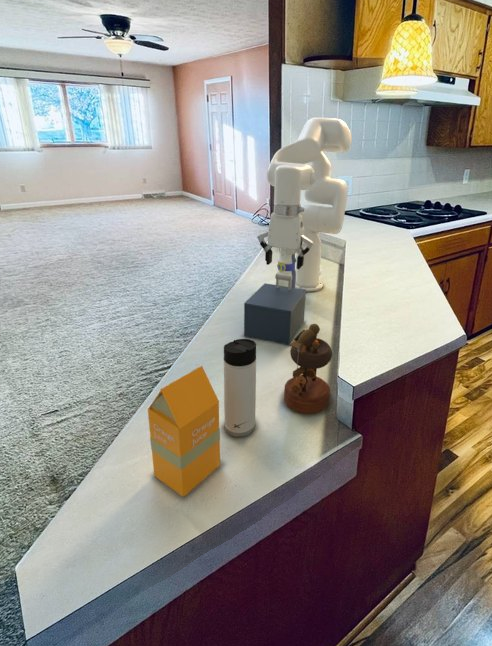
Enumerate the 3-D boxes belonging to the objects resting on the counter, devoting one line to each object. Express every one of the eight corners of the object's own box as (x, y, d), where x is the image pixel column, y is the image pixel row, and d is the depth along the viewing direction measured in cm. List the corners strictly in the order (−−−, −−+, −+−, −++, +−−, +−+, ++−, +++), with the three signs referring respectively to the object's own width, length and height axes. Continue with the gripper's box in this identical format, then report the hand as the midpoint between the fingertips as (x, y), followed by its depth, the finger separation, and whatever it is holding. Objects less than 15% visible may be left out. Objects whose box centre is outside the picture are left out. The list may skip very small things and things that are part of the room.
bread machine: (263, 314, 135) (263, 286, 131) (303, 321, 132) (305, 293, 128) (244, 336, 121) (244, 305, 117) (289, 345, 118) (290, 313, 114)
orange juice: (153, 475, 72) (143, 380, 65) (191, 446, 79) (187, 357, 72) (183, 498, 69) (177, 399, 61) (221, 465, 75) (219, 373, 68)
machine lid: (264, 285, 132) (265, 269, 130) (306, 292, 129) (307, 275, 127) (244, 305, 117) (244, 287, 115) (290, 313, 114) (291, 295, 112)
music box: (320, 424, 87) (320, 341, 80) (273, 414, 91) (269, 333, 84) (340, 385, 101) (341, 311, 94) (298, 377, 104) (296, 305, 97)
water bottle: (289, 300, 147) (292, 232, 137) (269, 294, 151) (271, 228, 141) (301, 293, 153) (305, 228, 144) (282, 288, 157) (285, 224, 148)
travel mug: (240, 443, 81) (241, 355, 73) (218, 427, 85) (216, 343, 77) (262, 426, 86) (264, 343, 78) (240, 412, 89) (240, 331, 82)
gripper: (318, 210, 120) (314, 266, 127) (263, 204, 124) (261, 258, 130) (312, 215, 114) (308, 273, 120) (254, 208, 117) (252, 265, 124)
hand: (284, 265), depth 125 cm, fingers open, 9 cm apart
